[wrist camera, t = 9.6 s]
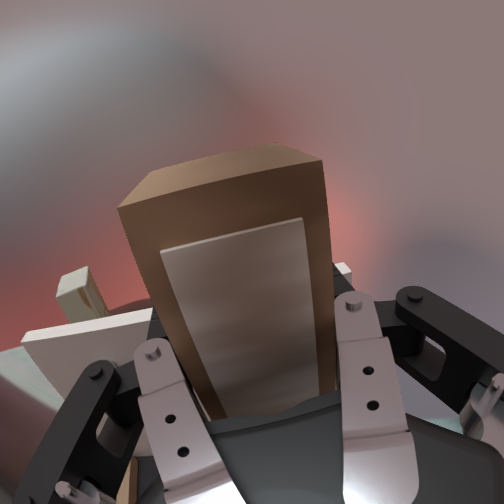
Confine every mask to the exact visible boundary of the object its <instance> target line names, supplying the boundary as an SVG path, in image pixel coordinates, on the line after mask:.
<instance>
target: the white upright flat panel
mask: <svg viewBox="0 0 504 504" xmlns="http://www.w3.org/2000/svg"><path fill="white" fill-rule="evenodd" d="M334 265H335V266H336V267H337V268H338V270H339V271H340V272H341V273H342V275H343V276H344V277H345V278H346V279H347V281H348V282H349V283H350V284H351V286H352V272H351V270H350V269H349V268H348V267H347V266H346V265H345V263H344V262H342V263H338V264H334ZM152 309H153V308H148V309H144V310H139V311H134V312H129V313H124V314H119V315H114V316H109V317H104V318H99V319H94V320H89V321H83V322H78V323H73V324H67V325H62V326H56V327H51V328H45V329H40V330H34V331H28V332H26V334H25V336H24V338H23V339H22V341H21V343H22V345H23V346H24V348H25V349H26V351H27V352H28V354H29V355H30V356H31V358H32V359H33V361H34V362H35V363H36V365H37V366H38V367H39V369H40V370H41V371H42V373H43V374H44V375H45V377H46V378H47V379H48V380H49V382H50V383H51V384H52V385H53V387H54V388H55V389H56V390H57V391H58V393H59V394H60V395H61V396H62V397H63V398H64V400H65V399H66V398H67V396H68V394H69V393H70V391H71V389H72V388H73V386H74V385H75V383H76V381H77V380H78V378H79V377H80V375H81V373H82V372H83V370H84V369H85V368H86V367H87V366H88V365H90V364H91V363H93V362H95V361H98V360H107V361H110V362H111V363H112V364H113V366H114V368H116V367H119V366H121V365H123V364H126V363H128V362H130V361H132V360H134V359H133V355H134V352H135V350H136V349H137V347H138V346H139V345H141V344H142V343H143V342H145V341H146V339H147V334H148V329H149V324H150V321H151V320H150V319H151V314H152ZM193 390H194V388H193ZM194 392H195V390H194ZM195 394H196V392H195ZM196 396H197V394H196ZM197 398H198V396H197ZM198 400H199V398H198ZM199 402H200V405H201V407H202V409H203V411H204V413H205V415H206V417H207V419H208V421H211V419H210V417H209V416H208V414H207V412H206V410H205V409H204V407H203V405H202V403H201V401H200V400H199ZM107 418H108V415H107V414H106V413H104V415H103V417H102V419H101V422H100V424H99V426H98V428H97V430H96V434H97V435H98V436H99V434H100V432H101V430H102V428H103V426H104V424H105V422H106V420H107ZM134 456H153V453H152V449H151V446H150V443H149V440H148V436H147V433H146V429H145V426H144V427H143V430H142V432H141V435H140V437H139V440H138V442H137V445H136V447H135V450H134V452H133V455H132V458H131V460H130V463H129V465H128V468H127V470H126V473H125V476H124V478H123V481H122V483H121V486H120V489H119V491H118V494H117V502H116V503H117V504H135V503H136V501H137V476H138V460H137V459H136V458H135V457H134Z"/></svg>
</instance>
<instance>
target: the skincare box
mask: <svg viewBox="0 0 504 504" xmlns="http://www.w3.org/2000/svg"><path fill="white" fill-rule="evenodd" d="M56 299H57V301H58V303H59V304H60V306H61V308H62V310H63V312H64V314H65V316H66V317H67V319H68V321H69V323H70V324H73V323H78V322H83V321H89V320H94V319H99V318H104V317H109V316H111V314H110V312H109V310H108V308H107V306H106V304H105V303H104V300H103V298H102V296H101V294H100V292H99V290H98V287H97V285H96V283H95V281H94V279H93V277H92V274H91V272H90V270H89V267H88V266H86V267H84V268H81V269H79V270H76V271H74V272H71V273H69V274H66V275H64V276H62V277H61V280H60V284H59V286H58V291H57V295H56Z"/></svg>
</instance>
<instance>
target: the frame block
mask: <svg viewBox="0 0 504 504" xmlns="http://www.w3.org/2000/svg"><path fill="white" fill-rule="evenodd" d="M117 209H118V213H119V215H120V218H121V221H122V224H123V227H124V230H125V233H126V236H127V239H128V241H129V244H130V247H131V250H132V252H133V255H134V258H135V260H136V263H137V266H138V268H139V270H140V273H141V276H142V278H143V281H144V283H145V286H146V288H147V291H148V293H149V295H150V298H151V300H152V302H153V305H154V307H155V309H156V312H157V314H158V316H159V319H160V321H161V323H162V325H163V327H164V330H165V332H166V334H167V336H168V338H169V340H170V343H171V345H172V347H173V349H174V351H175V353H176V355H177V357H178V359H179V361H180V363H181V365H182V367H183V369H184V371H185V373H186V375H187V377H188V379H189V381H190V383H191V385H192V387H193V388H194V390H195V392H196V394H197V396H198V398H199V400H200V401H201V403H202V405H203V407H204V409H205V410H206V412H207V414H208V416H209V417H210V419H211V421H214V420H220V419H226V418H231V417H236V416H274V415H277V414H279V413H281V412H283V411H285V410H287V409H289V408H291V407H293V406H295V405H297V404H299V403H301V402H303V401H305V400H307V399H310V398H313V397H316V396H320V395H323V394H326V393H329V392H332V391H335V390H336V340H335V305H334V284H333V267H332V253H331V240H330V228H329V217H328V207H327V198H326V188H325V180H324V172H323V164H322V160H321V159H319V158H316V157H314V156H311V155H308V154H306V153H303V152H300V151H298V150H295V149H292V148H290V147H287V146H284V145H281V144H278V143H270V144H265V145H259V146H254V147H249V148H245V149H240V150H235V151H230V152H226V153H221V154H217V155H213V156H208V157H204V158H200V159H196V160H192V161H188V162H184V163H180V164H177V165H173V166H169V167H165V168H162V169H158V170H155V171H151V172H150V173H149V174H148V175H147V176H146V177H145V178H144V179H143V180H142V181H141V182H140V183H139V185H138V186H137V187H136V188H135V189H134V190H133V191H132V192H131V193H130V194H129V195H128V196H127V197H126V199H125V200H124V201H123V202H122V203H121V204H120V205H119V206H118V207H117Z"/></svg>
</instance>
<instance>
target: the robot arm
mask: <svg viewBox="0 0 504 504" xmlns="http://www.w3.org/2000/svg"><path fill="white" fill-rule="evenodd" d="M332 267H333V284H334V305H335V340H336V390H335V391H332V392H329V393H326V394H323V395H320V396H316V397H313V398H310V399H307V400H305V401H303V402H301V403H299V404H297V405H295V406H293V407H291V408H289V409H287V410H285V411H283V412H281V413H279V414H277V415H274V416H236V417H231V418H226V419H220V420H214V421H208V419H207V417H206V415H205V413H204V411H203V409H202V407H201V405H200V402H199V400H198V398H197V396H196V394H195V392H194V390H193V387H192V385H191V383H190V381H189V379H188V377H187V375H186V373H185V371H184V369H183V367H182V365H181V363H180V361H179V359H178V357H177V355H176V353H175V351H174V349H173V347H172V345H171V343H170V340H169V338H168V336H167V334H166V332H165V330H164V327H163V325H162V323H161V321H160V319H159V316H158V314H157V312H156V309H155V307H154V305H153V309H152V314H151V319H150V320H151V321H150V324H149V329H148V334H147V339H146V341H145V342H143V343H142V344H141V345H139V346H138V347H137V349H136V350H135V352H134V355H133V359H134V360H132V361H130V362H128V363H126V364H123V365H121V366H119V367H116V368H114V366H113V364H112V363H111V362H110V361H107V360H98V361H95V362H93V363H91V364H90V365H88V366H87V367H86V368H85V369H84V370H83V372H82V373H81V375H80V377H79V378H78V380H77V381H76V383H75V385H74V386H73V388H72V389H71V391H70V393H69V394H68V396H67V398H66V399H65V401H64V403H63V404H62V406H61V408H60V409H59V411H58V413H57V415H56V416H55V418H54V420H53V421H52V423H51V425H50V427H49V429H48V430H47V432H46V434H45V436H44V438H43V439H42V441H41V443H40V445H39V447H38V449H37V450H36V452H35V454H34V456H33V458H32V460H31V462H30V464H29V466H28V468H27V470H26V472H25V474H24V476H23V478H22V480H21V482H20V484H19V486H18V488H17V490H16V492H15V494H14V497H13V502H12V504H117V503H116V501H115V499H116V497H117V494H118V491H119V489H120V486H121V483H122V481H123V478H124V476H125V473H126V470H127V468H128V465H129V463H130V460H131V458H132V455H133V452H134V450H135V447H136V445H137V442H138V440H139V437H140V435H141V432H142V430H143V427H144V426H145V429H146V433H147V436H148V440H149V443H150V446H151V449H152V453H153V456H154V459H155V462H156V465H157V468H158V471H159V474H158V476H157V477H156V478H155V479H154V481H153V482H152V483H151V484H150V486H149V487H148V488H147V489H146V490H145V492H144V493H143V494H142V495H141V497H140V498H139V499H138V500H137V501H136V503H135V504H504V335H503V334H502V333H500V332H498V331H497V330H495V329H494V328H492V327H490V326H489V325H487V324H485V323H484V322H482V321H480V320H479V319H477V318H475V317H474V316H472V315H470V314H469V313H467V312H465V311H464V310H462V309H460V308H458V307H457V306H455V305H453V304H452V303H450V302H448V301H446V300H445V299H443V298H441V297H439V296H438V295H436V294H434V293H432V292H430V291H429V290H427V289H425V288H423V287H419V286H408V287H404V288H402V289H400V290H399V291H398V292H397V294H396V300H393V301H382V302H377V301H373V299H372V297H371V296H370V295H368V294H366V293H364V292H360V291H355V289H354V288H353V287H352V286H351V284H350V283H349V282H348V281H347V279H346V278H345V277H344V276H343V275H342V273H341V272H340V271H339V270H338V268H337V267H336V266H335V265H334V263H333V262H332ZM426 336H427V337H429V338H430V339H432V340H433V341H435V342H436V343H438V344H439V345H440V346H442V347H443V349H444V350H445V352H446V354H444V353H443V352H441V351H440V350H439V349H437V348H436V347H434V346H433V345H431V344H430V343H429V342H427V341H426V340H425V339H426ZM395 364H397V365H398V366H399V367H401V368H402V369H403V370H404V371H405V372H407V373H408V374H409V375H410V376H412V377H413V378H414V379H415V380H417V381H418V382H419V383H420V384H422V385H423V386H424V387H425V388H426V389H428V390H429V391H430V392H431V393H433V394H434V395H435V396H436V397H438V398H439V399H440V400H441V401H443V402H444V403H445V404H446V405H448V406H449V407H450V408H451V409H452V410H454V411H455V412H456V413H457V414H459V415H460V416H459V420H460V424H461V426H462V432H463V434H464V435H463V434H460V433H457V432H454V431H451V430H449V429H446V428H443V427H441V426H438V425H435V424H433V423H430V422H427V421H425V420H422V419H420V418H417V417H415V416H412V415H410V414H407V413H405V410H404V405H403V399H402V394H401V389H400V385H399V380H398V375H397V371H396V367H395ZM104 413H106V414H107V415H108V418H107V420H106V422H105V424H104V426H103V428H102V430H101V432H100V434H99V436H98V438H96V430H97V428H98V426H99V424H100V422H101V419H102V417H103V415H104Z"/></svg>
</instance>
